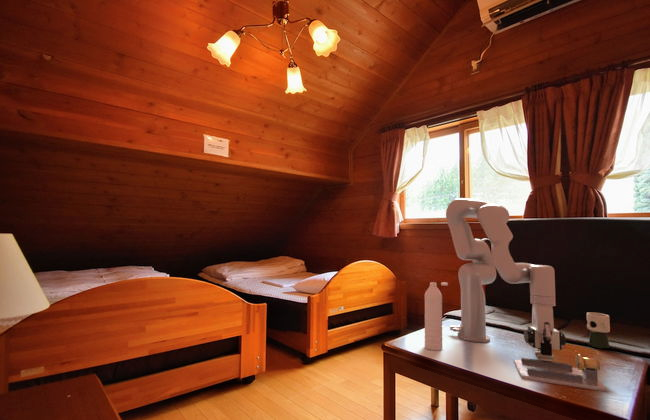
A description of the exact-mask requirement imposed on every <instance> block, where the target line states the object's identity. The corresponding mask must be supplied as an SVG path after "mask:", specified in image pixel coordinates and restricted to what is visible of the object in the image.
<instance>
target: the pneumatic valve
mask: <svg viewBox="0 0 650 420" xmlns="http://www.w3.org/2000/svg"><path fill="white" fill-rule="evenodd" d="M550 333H552V331H551V330H550ZM543 334H546V333H545V332H543ZM544 337H546V336H544ZM523 338H524V342H525V343H526V344H528V345H529V346H530V347H531V348H533V349H536V351H535V353H534V355H535V357H536V359H537V360H543V361H551V362H554V360H555V353H553V352H552V356H548V355H542V354H541V349H537V348H541V343H542V341H541V333H540V334H538V333H537V330H536V329H535V328H534V327H532V325H531V326H530V325H529V326H527V328H526V329H524V331H523ZM551 342H552V350H556V351H562V350H563V347H565V346H566V343H567V338H566V336H565V334H564V333H563V332H562V331H561V330H559V329H557V328H556V327H554V334H553V335H551Z"/></svg>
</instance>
